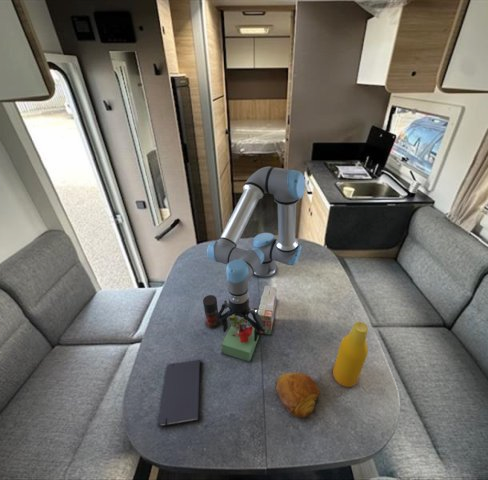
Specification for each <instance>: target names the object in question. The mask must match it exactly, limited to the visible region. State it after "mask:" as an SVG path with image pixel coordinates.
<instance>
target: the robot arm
mask: <svg viewBox="0 0 488 480" xmlns="http://www.w3.org/2000/svg"><path fill="white" fill-rule="evenodd" d="M305 188H306V179H305V176H304V173H302V172H301V171H300V170H295V169H287V168H281V167H274V166H264V167H261V168H259V169H258V170H256V171H254V172H253V173H252V174H251V175H250V176H249V177H248V179H247V180H246V181H245V183H244V185H243V186H242V190H243V192H242V194H241V196H240V198H239V199H238V202H237V204H236V205H235V208H234V209H233V212H232V213H231V215H230V217H229V220H228V221H227V223H226V225H225V227H224V229H223V231H222V233H221V235H220V236H219V238H218V240H216V241H214V240H213V241H211V242H210V243H209V244H208V246H207V249H206V255H207V258H208V259H210V260H212V261H214V262H217V263H220V264H224V265H226V268H225V269H226V271H225V277H226V284H227V295H228V301H227V300H224V301H223V302H222V304H221V308H220V310H218V314H217V316H216V318H217V319H219V322H220V325H221V326H222V330H223V333H226V332H227V331H228V328H229V325H228V324H229V323H228V319H229V317H231V316H233V315H235V316H237V317H240V318H241V317H242V318H244V319H245V320H246V321H247V323H249V324H250V325H251V326H253V327H254V328H255V330H254V341H256V340H257V338H258V335H259V336H260V334H261V333H260V330H261V331H263V330H264V327H265V324H264V323H263V321H262V319H261V317H260V316H259V314H258V308H257V307H254V308H250V298H249V297H250V293H249V281H250V280H251V279H252V277H253V276H256V277H258V278H269V277H273V275H275V274H276V273H277V264H276V262H278V263H281V264H284V265H287V266H295V265H297V263H298V260H299V258H300V256H301V252H302V249H303V247H302V245H301V244H299V241H298V239H297V238H296V230H297V229H296V228H297V227H296V226H297V222H296V221H297V204H298V202H299V201H300V200H301V199H302V198H303V196H304V194H305ZM265 194H270V195H273V199H274V202H275V203H276V204H277V228H278V229H277V230H278V231H277V232H278V233H277V234H278V235H277V237H278V238H276V237H275V235H274V234H273V233H271V232H262V233H258V234H257V235H255V237H254V238H253V242H252V246H253V247H250V248H248V249H247V250H246V249H243V248H239V247H237V245H238V243H239V241H240V239H241V238H242V235H243V233H244V231H245V229H246V227H247V225H248V223H249V221H250V219H251V217H252V215H253V213H254V211H255V209H256V206H257V204H258V202H259V201H260V200H261V199H263V197H264V195H265ZM226 309H228V310H227V311H226V312H225V310H226ZM224 312H225V313H224ZM258 339H259V338H258Z"/></svg>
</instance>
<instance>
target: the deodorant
mask: <svg viewBox="0 0 488 480" xmlns="http://www.w3.org/2000/svg"><path fill="white" fill-rule="evenodd" d="M217 299H218V298H217V296H215V295H212V294H208V295H206V296H205V297H203V300H202V304H203V310H204V315H205V316H204V317H205V322H206V326H207V328H210V329H214V328H217V327H218V326H219V325H220V319H217V318H216V316H217V314H218V313H219V308H218V300H217Z"/></svg>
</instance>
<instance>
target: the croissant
mask: <svg viewBox="0 0 488 480" xmlns="http://www.w3.org/2000/svg"><path fill="white" fill-rule="evenodd" d="M275 390H276V392H277V395H278V399H279V400H280V402H281V404H282V405H283V406H284V408H285V410H287V412H288V413H290V414H291V415H292V416H293V417H296V418H299V419H301V418H306V417H308V416H310V415H311V414H312V413H313V411H314V410H315V406H316V402H317V399H318V398H319V394H320V389H319V387H318V386H317V384H316V382H315V381H314V379H313V378H312V377H311V376H310V375H308V374H306V373H302V372H286V373H283V374H280V375H279V377H278V379H277V382H276V387H275Z"/></svg>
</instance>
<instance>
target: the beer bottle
mask: <svg viewBox="0 0 488 480" xmlns="http://www.w3.org/2000/svg"><path fill="white" fill-rule="evenodd" d="M368 329H369V328H368V326H367V325H366V323H364V322H362V321H355V322H354V324H353V326H352V327H351V330H350V332H349V333H348V334H345V336H344V337H343V338H342V340H340V341H341V342H340V344H339V348H338V352H337V356H336V359H335V362H334V366H333V369H332V376H333V378H334V380H335V382H337V384H339V385H340V386H341V387H345V388H351V387H354V386H355V385H356V384H357V383H358V381H359V378H360V375H361V372H362V369H363V367H364V364H365V361H366V359H367V357H368V353H369V346H368V342H367V335H368Z"/></svg>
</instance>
